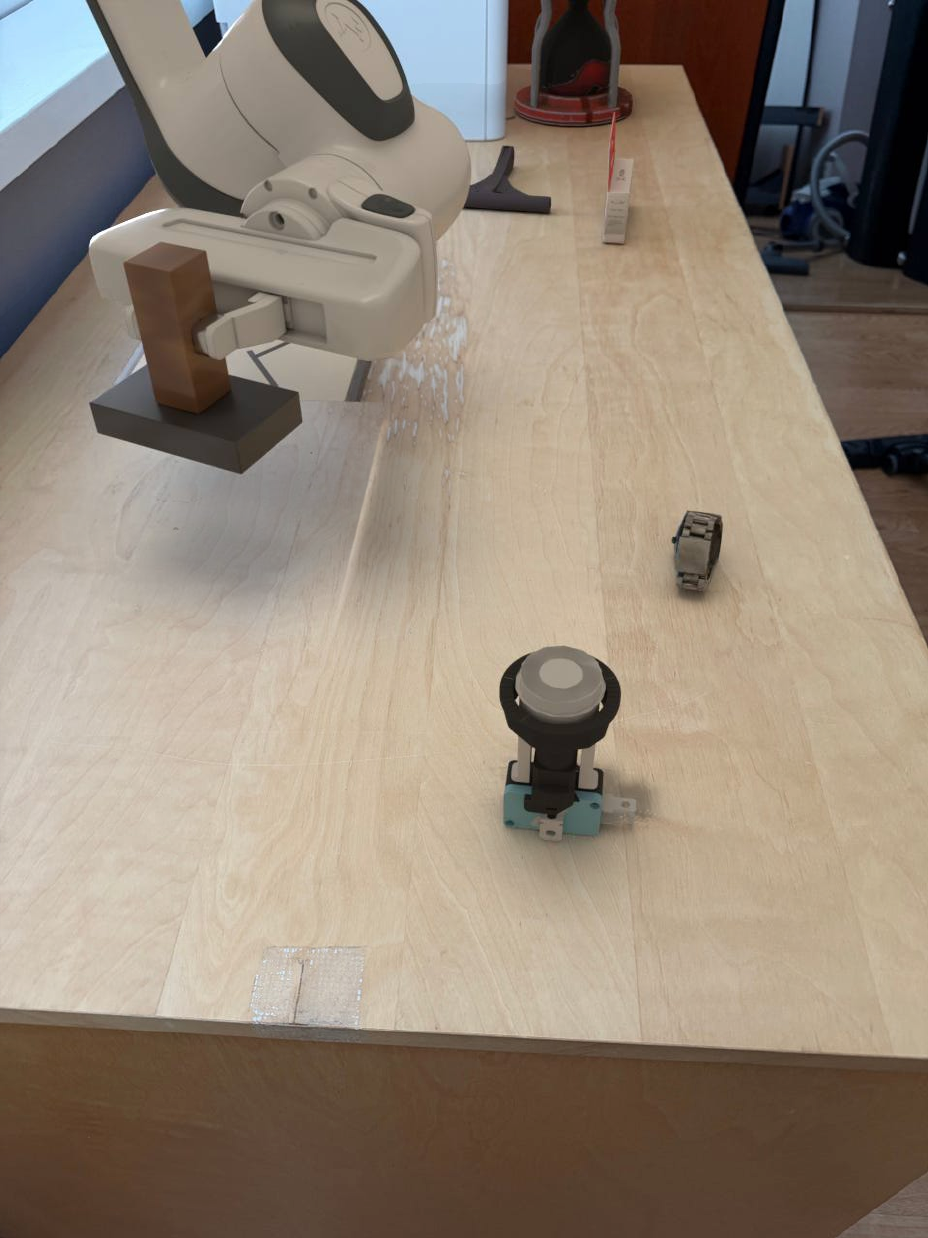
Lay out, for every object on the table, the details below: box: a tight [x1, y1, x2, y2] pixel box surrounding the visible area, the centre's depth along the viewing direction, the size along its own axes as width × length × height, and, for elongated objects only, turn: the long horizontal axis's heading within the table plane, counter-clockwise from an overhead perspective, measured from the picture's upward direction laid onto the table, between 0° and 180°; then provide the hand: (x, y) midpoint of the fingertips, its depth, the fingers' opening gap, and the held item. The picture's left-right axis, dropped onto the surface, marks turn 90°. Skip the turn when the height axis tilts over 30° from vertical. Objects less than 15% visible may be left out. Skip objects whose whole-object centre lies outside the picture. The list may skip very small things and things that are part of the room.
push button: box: [498, 645, 637, 842], centre depth 48 cm, size 7×5×10 cm
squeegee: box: [463, 145, 552, 214], centre depth 119 cm, size 14×15×3 cm
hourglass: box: [513, 0, 634, 127], centre depth 134 cm, size 16×16×25 cm
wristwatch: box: [671, 509, 724, 592], centre depth 64 cm, size 3×5×5 cm
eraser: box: [88, 242, 303, 475], centre depth 56 cm, size 10×6×10 cm, turn 63°
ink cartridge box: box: [602, 112, 635, 245], centre depth 107 cm, size 2×11×10 cm, turn 171°
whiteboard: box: [111, 340, 372, 403], centre depth 86 cm, size 20×22×1 cm
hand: (169, 336), depth 55 cm, fingers closed on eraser, 3 cm apart
